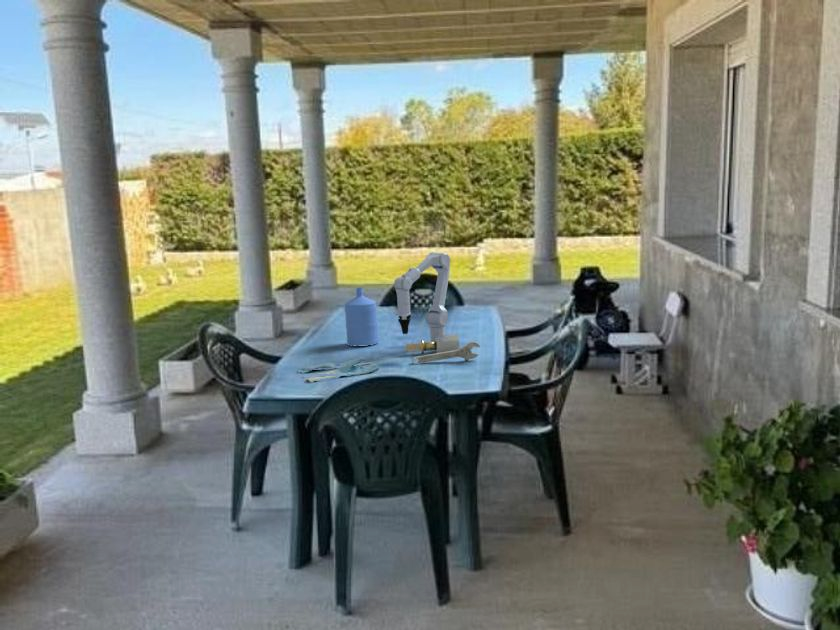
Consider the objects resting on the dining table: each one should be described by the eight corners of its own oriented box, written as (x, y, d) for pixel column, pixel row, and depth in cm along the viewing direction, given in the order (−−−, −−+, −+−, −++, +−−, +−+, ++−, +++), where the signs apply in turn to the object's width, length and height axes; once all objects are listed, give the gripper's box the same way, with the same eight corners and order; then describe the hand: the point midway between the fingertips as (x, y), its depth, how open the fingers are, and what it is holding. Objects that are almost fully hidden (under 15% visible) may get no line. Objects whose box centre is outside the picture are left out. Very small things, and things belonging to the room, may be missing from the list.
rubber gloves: (292, 370, 334) (291, 356, 333) (363, 360, 346) (362, 346, 345) (309, 384, 309) (308, 369, 308) (384, 372, 321) (383, 357, 320)
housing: (436, 350, 357) (435, 335, 355) (458, 348, 357) (457, 334, 355) (437, 356, 343) (436, 341, 342) (459, 355, 343) (458, 340, 342)
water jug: (374, 347, 370) (370, 290, 366) (343, 347, 374) (339, 290, 369) (382, 340, 386) (378, 285, 381) (352, 341, 389) (348, 286, 384)
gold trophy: (406, 352, 353) (405, 339, 352) (436, 351, 353) (436, 337, 352) (406, 355, 347) (405, 342, 346) (437, 354, 347) (436, 340, 345)
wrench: (413, 369, 334) (481, 358, 333) (413, 370, 332) (482, 359, 332) (410, 352, 332) (478, 340, 332) (410, 352, 331) (479, 341, 330)
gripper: (395, 301, 359) (397, 329, 361) (394, 306, 345) (396, 335, 347) (410, 300, 359) (412, 329, 361) (410, 305, 345) (411, 334, 347)
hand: (405, 332), depth 354 cm, fingers open, 7 cm apart
